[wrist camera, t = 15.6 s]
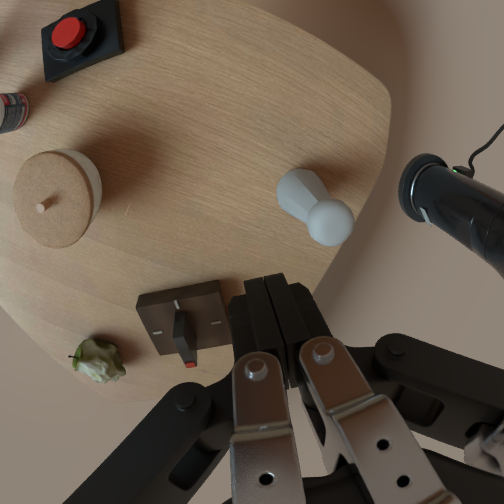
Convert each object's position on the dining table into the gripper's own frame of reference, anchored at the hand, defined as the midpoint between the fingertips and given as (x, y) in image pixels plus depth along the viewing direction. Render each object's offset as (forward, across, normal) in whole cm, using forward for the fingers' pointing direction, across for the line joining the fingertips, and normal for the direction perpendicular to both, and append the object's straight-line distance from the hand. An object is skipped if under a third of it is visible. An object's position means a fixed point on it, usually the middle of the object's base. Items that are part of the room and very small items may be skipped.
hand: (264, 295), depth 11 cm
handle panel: (+25, +10, +20) cm, 34 cm away
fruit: (+25, +28, +25) cm, 45 cm away
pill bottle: (+25, +26, -16) cm, 40 cm away
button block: (+25, +14, -21) cm, 36 cm away
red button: (+21, +14, -21) cm, 33 cm away
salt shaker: (+25, -8, +4) cm, 27 cm away
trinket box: (+25, +19, -3) cm, 32 cm away
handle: (+22, +10, +20) cm, 31 cm away
